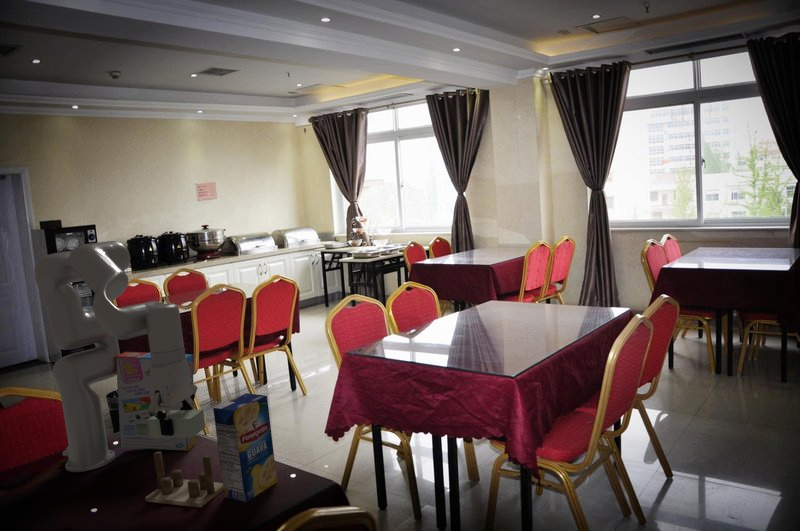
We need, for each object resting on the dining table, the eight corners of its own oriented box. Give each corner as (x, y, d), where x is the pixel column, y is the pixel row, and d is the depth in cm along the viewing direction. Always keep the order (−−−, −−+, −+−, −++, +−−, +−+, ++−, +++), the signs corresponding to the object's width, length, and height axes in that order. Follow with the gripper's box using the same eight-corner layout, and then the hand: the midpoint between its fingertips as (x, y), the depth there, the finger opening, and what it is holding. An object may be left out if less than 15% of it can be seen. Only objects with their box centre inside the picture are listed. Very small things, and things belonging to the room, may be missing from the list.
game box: (196, 444, 182) (194, 354, 179) (188, 452, 177) (186, 359, 174) (128, 440, 184) (125, 350, 181) (118, 447, 179) (115, 355, 176)
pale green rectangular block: (150, 437, 147) (147, 419, 146) (164, 428, 153) (161, 410, 152) (192, 437, 145) (190, 418, 144) (205, 427, 151) (203, 409, 150)
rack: (145, 501, 149) (139, 461, 147) (173, 482, 158) (168, 444, 157) (201, 507, 143) (195, 466, 142) (227, 487, 152) (222, 448, 151)
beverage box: (224, 497, 147) (212, 408, 144) (256, 477, 156) (246, 393, 154) (245, 502, 143) (233, 411, 141) (277, 481, 153) (267, 395, 150)
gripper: (180, 346, 156) (189, 415, 158) (128, 366, 140) (139, 442, 142) (204, 346, 153) (213, 416, 155) (155, 367, 137) (165, 444, 139)
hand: (178, 428), depth 149 cm, fingers closed on pale green rectangular block, 6 cm apart
